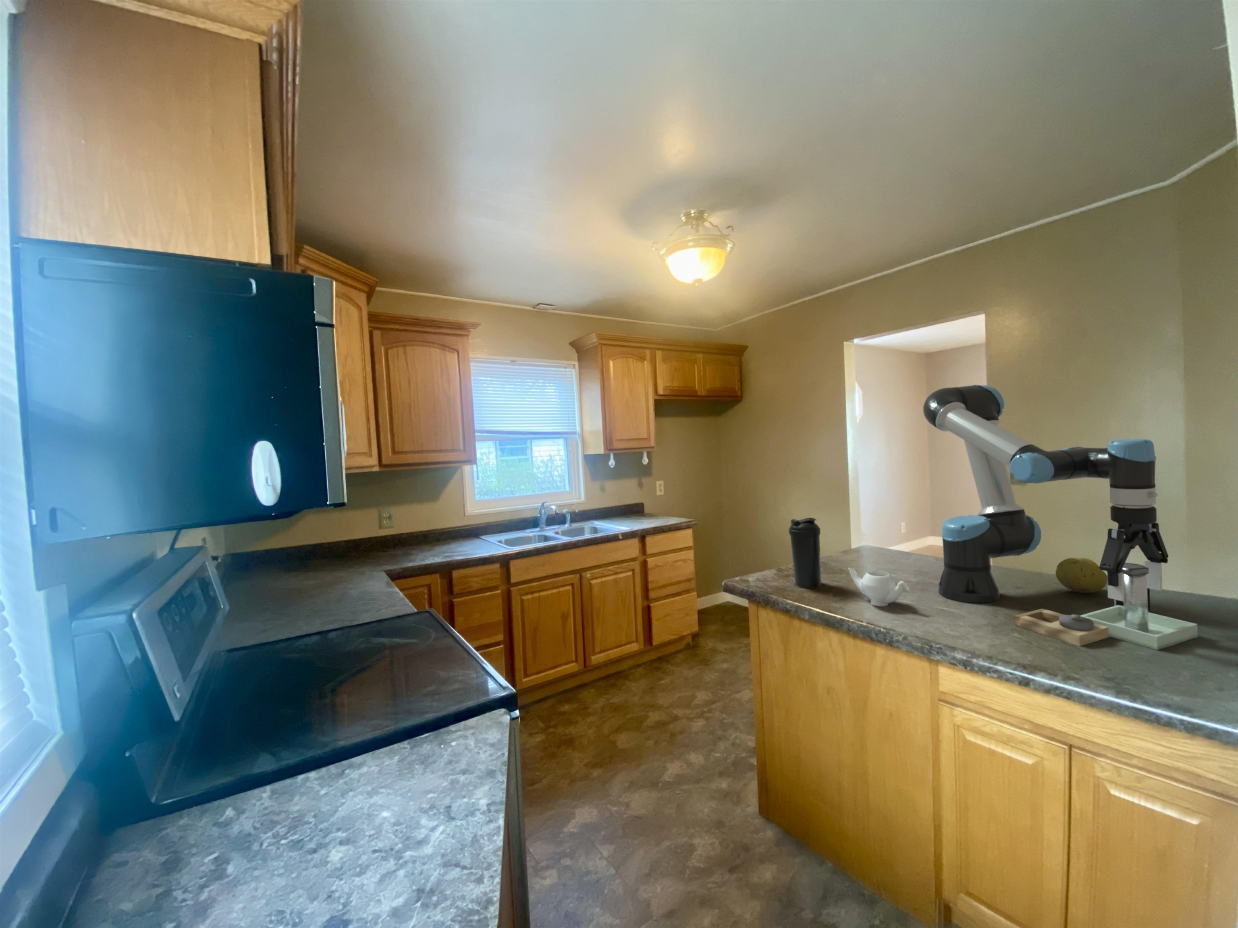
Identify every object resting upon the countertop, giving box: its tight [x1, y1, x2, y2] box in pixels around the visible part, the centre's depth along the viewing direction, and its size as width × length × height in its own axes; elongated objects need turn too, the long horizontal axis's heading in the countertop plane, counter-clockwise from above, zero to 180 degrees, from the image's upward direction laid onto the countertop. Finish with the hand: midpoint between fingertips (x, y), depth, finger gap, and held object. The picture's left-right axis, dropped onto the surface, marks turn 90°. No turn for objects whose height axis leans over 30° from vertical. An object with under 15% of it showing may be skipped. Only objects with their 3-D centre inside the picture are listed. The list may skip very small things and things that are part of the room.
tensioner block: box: [1014, 608, 1110, 647], centre depth 122 cm, size 14×10×5 cm
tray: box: [1079, 605, 1199, 651], centre depth 118 cm, size 14×14×3 cm
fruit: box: [1055, 557, 1108, 594], centre depth 144 cm, size 11×12×10 cm
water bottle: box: [788, 517, 822, 589], centre depth 172 cm, size 10×10×23 cm
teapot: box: [847, 566, 912, 607], centre depth 149 cm, size 10×20×9 cm, turn 28°
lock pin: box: [1121, 565, 1149, 633], centre depth 117 cm, size 5×5×15 cm
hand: (1135, 594), depth 117 cm, fingers open, 13 cm apart
